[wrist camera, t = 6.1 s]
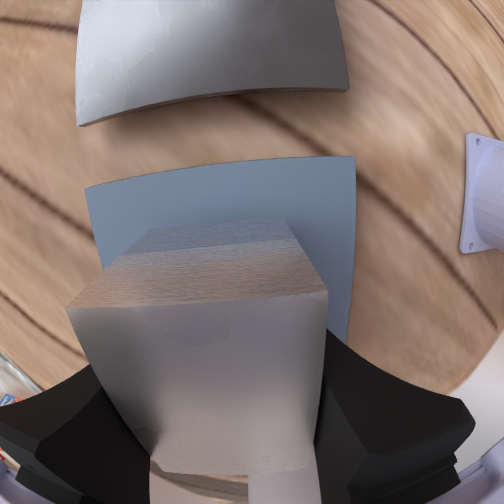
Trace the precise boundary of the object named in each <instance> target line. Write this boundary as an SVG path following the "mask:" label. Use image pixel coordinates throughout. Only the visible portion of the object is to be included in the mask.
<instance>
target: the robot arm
mask: <svg viewBox="0 0 504 504" xmlns="http://www.w3.org/2000/svg"><path fill="white" fill-rule="evenodd" d="M476 140H477V143H476ZM469 245H470V246H469ZM491 249H497V250H499V251H501V252H502V253H504V142H503V141H499V140H496V139H493V138H489V137H486V136H482V135H478V134H474V133H468V134H467V136H466V190H465V204H464V215H463V223H462V231H461V238H460V245H459V250H460V251H461V252H462V253H463V254H468V253H473V252H479V251H485V250H491ZM475 424H476V423H475V420H474V418H473V417H472V415H471V414H470V412H469V410H468V409H467V407H466V406H465V404H464V403H463V402H462V400H461V399H458V398H454V397H450V396H446V395H442V394H438V393H435V392H431V391H428V390H426V389H423V388H420V387H417V386H415V385H412V384H410V383H408V382H405V381H403V380H401V379H399V378H397V377H395V376H393V375H391V374H389V373H387V372H385V371H383V370H381V369H380V368H378V367H376V366H375V365H373V364H372V363H370V362H368V361H367V360H365V359H364V358H362V357H361V356H359V355H358V354H357V353H355V352H354V351H353V350H352V349H350V348H349V347H348V346H346V345H345V344H344V343H343V342H342V341H341V340H339V339H338V338H337V337H336V336H335V335H334V334H333V333H332V332H331V331H329V330H328V329H327V328H326V341H325V353H324V364H323V374H322V383H321V392H320V400H319V408H318V415H317V422H316V428H315V435H314V441H313V446H314V452H315V458H316V465H317V472H318V479H319V487H320V495H321V504H504V438H502V439H501V440H500V441H499V442H497V443H496V444H495V445H494V446H493V447H492V448H490V449H489V450H488V451H487V452H486V453H485V454H484V455H483V456H482V457H481V459H479V460H478V461H476V462H475V463H473V464H472V465H470V466H469V467H467V468H466V469H464V470H463V471H461V472H459V473H457V472H456V470H455V468H454V464H455V463H457V458H456V456H455V454H454V452H455V451H456V450H457V449H458V448H459V447H460V446H461V445H462V444H463V442H464V441H465V440H466V439H467V438H468V437H469V436H470V434H471V433H472V432H473V430H474V427H475ZM0 448H1V449H2V450H3V451H5V452H6V453H7V454H8V455H9V456H10V457H11V458H12V459H14V460H15V461H16V462H17V463H18V464H19V465H20V468H19V470H18V472H16V471H15V470H13V469H12V468H10V467H9V466H7V464H6V463H5V462H3V461H2V460H1V459H0V504H150V495H149V472H150V455H149V453H148V452H147V451H146V450H145V448H144V447H143V446H142V445H141V443H140V442H139V441H138V439H137V438H136V437H135V435H134V434H133V432H132V431H131V430H130V428H129V427H128V425H127V424H126V423H125V421H124V420H123V418H122V417H121V415H120V414H119V412H118V411H117V409H116V408H115V406H114V404H113V403H112V401H111V400H110V398H109V396H108V395H107V393H106V391H105V390H104V388H103V386H102V385H101V383H100V381H99V379H98V377H97V376H96V374H95V372H94V370H93V368H92V366H91V364H89V365H87V366H86V367H85V368H83V369H82V370H80V371H79V372H77V373H76V374H74V375H73V376H71V377H70V378H68V379H67V380H65V381H63V382H61V383H59V384H58V385H56V386H54V387H52V388H50V389H48V390H46V391H44V392H42V393H40V394H37V395H35V396H32V397H30V398H27V399H25V400H22V401H19V402H15V403H12V404H8V405H4V406H0Z"/></svg>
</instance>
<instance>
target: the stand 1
mask: <svg viewBox="0 0 504 504" xmlns="http://www.w3.org/2000/svg"><path fill="white" fill-rule="evenodd" d="M349 89H350V87H349V80H348V72H347V66H346V59H345V53H344V47H343V42H342V37H341V32H340V27H339V22H338V17H337V13H336V9H335V5H334V1H333V0H83V4H82V10H81V16H80V24H79V32H78V42H77V56H76V119H77V126H80V127H86V126H89V125H92V124H95V123H98V122H101V121H105V120H108V119H111V118H115V117H118V116H121V115H125V114H129V113H133V112H136V111H140V110H144V109H149V108H153V107H157V106H162V105H167V104H172V103H177V102H183V101H188V100H194V99H201V98H208V97H215V96H223V95H233V94H243V93H257V92H277V91H323V92H345V91H347V90H349Z"/></svg>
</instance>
